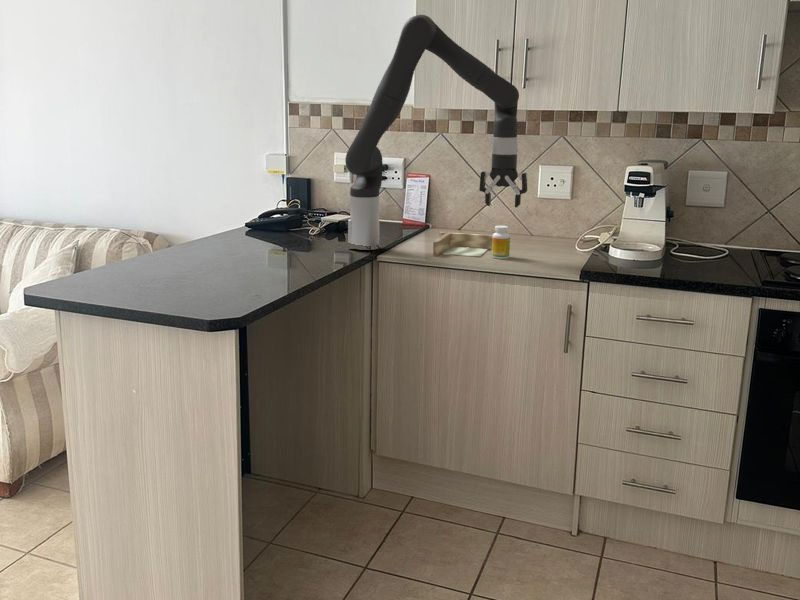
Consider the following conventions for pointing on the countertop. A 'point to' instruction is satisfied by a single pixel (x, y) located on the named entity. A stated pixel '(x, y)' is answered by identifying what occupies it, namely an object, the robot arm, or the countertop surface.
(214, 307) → the countertop surface
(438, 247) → the corner arena
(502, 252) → the supplement bottle
